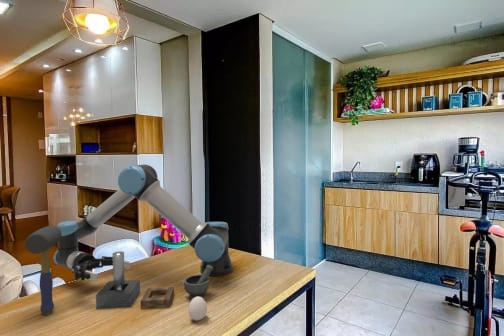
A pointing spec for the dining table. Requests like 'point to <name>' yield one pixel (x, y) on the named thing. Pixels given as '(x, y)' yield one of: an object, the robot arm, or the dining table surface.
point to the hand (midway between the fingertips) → (113, 271)
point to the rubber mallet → (44, 262)
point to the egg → (197, 308)
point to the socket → (118, 295)
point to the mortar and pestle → (198, 284)
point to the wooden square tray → (157, 298)
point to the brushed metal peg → (118, 271)
